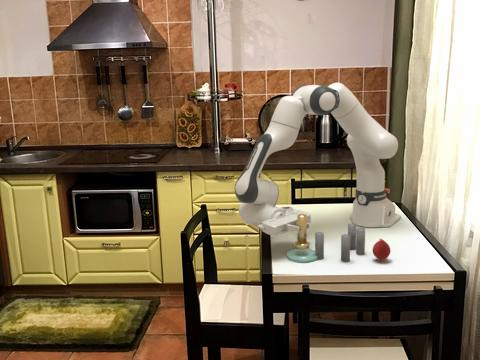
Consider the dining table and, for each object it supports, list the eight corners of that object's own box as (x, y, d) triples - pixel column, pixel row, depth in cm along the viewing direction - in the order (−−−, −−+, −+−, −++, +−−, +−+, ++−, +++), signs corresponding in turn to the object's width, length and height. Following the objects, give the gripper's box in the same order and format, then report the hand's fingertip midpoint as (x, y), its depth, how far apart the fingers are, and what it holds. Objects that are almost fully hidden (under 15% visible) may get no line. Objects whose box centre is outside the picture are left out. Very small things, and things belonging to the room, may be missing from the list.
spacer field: (343, 244, 199) (344, 221, 197) (369, 251, 191) (370, 227, 189) (313, 258, 187) (313, 233, 185) (339, 266, 179) (339, 240, 177)
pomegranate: (387, 257, 185) (387, 235, 184) (392, 263, 180) (393, 241, 178) (370, 257, 185) (370, 235, 183) (375, 264, 180) (375, 241, 178)
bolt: (300, 243, 191) (301, 212, 188) (312, 246, 187) (312, 215, 184) (291, 247, 187) (291, 215, 185) (302, 250, 184) (303, 218, 181)
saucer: (300, 248, 196) (300, 245, 195) (325, 256, 188) (325, 253, 188) (280, 257, 188) (280, 254, 188) (304, 265, 181) (304, 262, 180)
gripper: (254, 217, 187) (283, 226, 177) (292, 205, 201) (322, 212, 191) (254, 234, 188) (283, 244, 179) (292, 221, 202) (322, 229, 192)
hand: (304, 227), depth 185 cm, fingers closed on bolt, 3 cm apart
